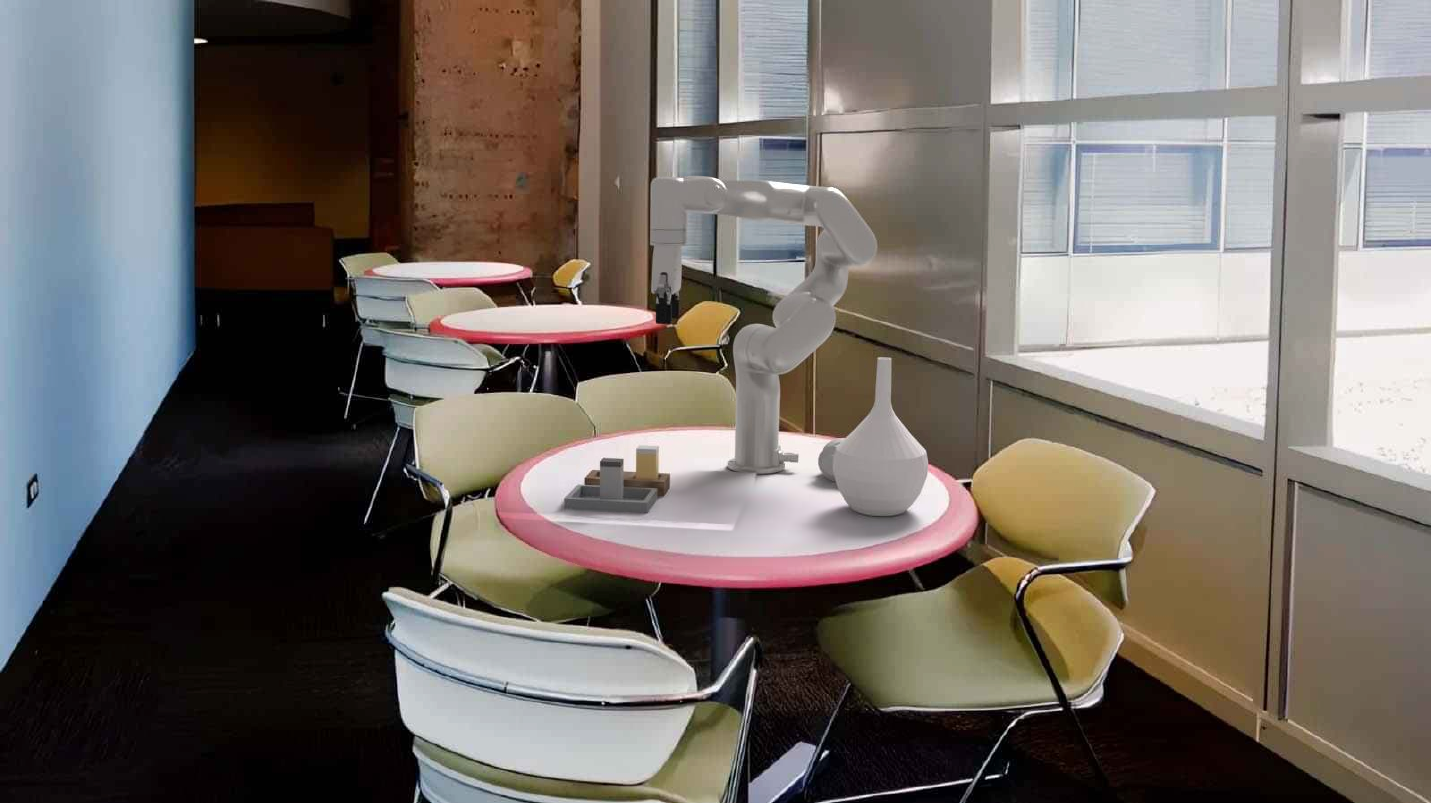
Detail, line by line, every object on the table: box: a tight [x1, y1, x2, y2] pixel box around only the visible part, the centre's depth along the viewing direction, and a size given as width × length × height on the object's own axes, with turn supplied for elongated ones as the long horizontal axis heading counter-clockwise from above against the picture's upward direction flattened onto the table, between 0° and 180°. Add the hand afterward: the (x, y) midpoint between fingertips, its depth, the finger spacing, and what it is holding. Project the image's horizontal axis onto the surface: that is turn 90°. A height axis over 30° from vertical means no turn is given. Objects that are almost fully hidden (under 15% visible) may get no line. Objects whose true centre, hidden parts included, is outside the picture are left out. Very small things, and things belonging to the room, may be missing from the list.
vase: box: [833, 356, 929, 517], centre depth 253 cm, size 18×18×30 cm
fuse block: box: [583, 469, 671, 498], centre depth 263 cm, size 16×7×4 cm, turn 82°
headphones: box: [817, 437, 846, 483], centre depth 280 cm, size 18×8×20 cm
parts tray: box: [563, 484, 659, 514], centre depth 253 cm, size 16×11×3 cm
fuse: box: [635, 444, 660, 480], centre depth 262 cm, size 4×3×9 cm
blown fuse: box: [599, 457, 625, 500], centre depth 252 cm, size 4×3×9 cm
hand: (667, 320), depth 273 cm, fingers open, 9 cm apart
